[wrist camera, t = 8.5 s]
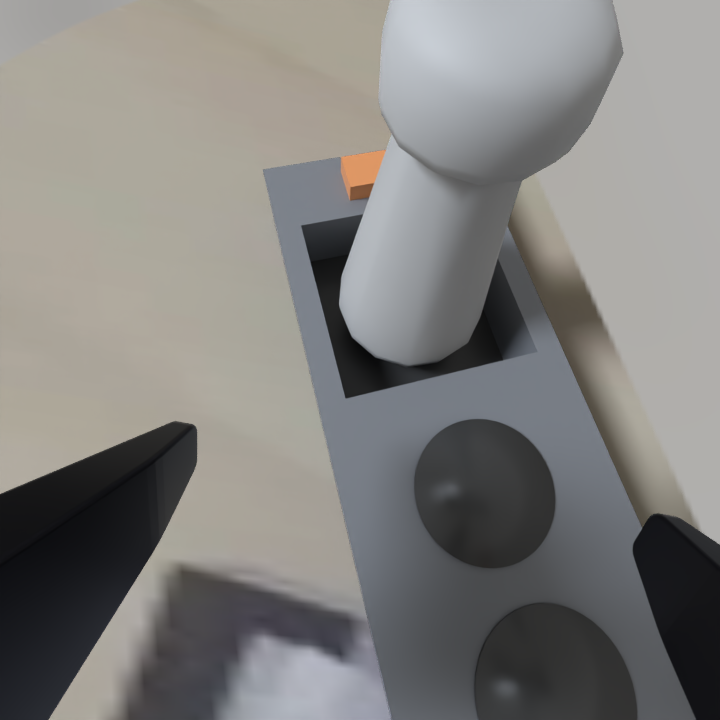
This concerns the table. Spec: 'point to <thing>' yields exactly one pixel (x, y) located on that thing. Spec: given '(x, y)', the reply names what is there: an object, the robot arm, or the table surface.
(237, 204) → the table surface
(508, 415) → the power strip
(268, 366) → the table surface
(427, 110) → the salt shaker
